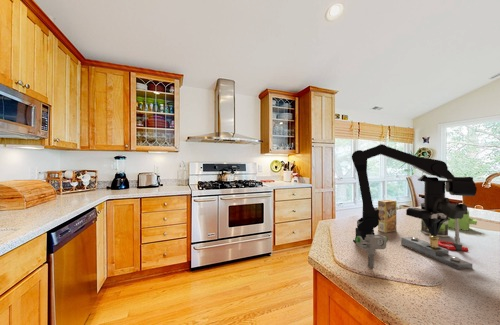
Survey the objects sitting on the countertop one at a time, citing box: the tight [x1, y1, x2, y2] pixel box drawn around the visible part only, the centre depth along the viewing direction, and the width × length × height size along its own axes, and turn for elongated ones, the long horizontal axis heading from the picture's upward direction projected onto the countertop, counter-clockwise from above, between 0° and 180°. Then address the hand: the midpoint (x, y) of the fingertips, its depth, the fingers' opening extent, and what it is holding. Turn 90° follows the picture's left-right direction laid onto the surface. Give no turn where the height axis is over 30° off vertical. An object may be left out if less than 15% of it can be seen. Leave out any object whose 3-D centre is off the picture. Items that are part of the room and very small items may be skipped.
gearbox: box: [448, 210, 478, 231], centre depth 113 cm, size 18×10×10 cm, turn 40°
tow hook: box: [438, 219, 469, 252], centre depth 85 cm, size 8×13×9 cm
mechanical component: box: [354, 234, 389, 269], centre depth 67 cm, size 3×10×10 cm, turn 95°
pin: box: [428, 235, 440, 250], centre depth 76 cm, size 3×3×7 cm
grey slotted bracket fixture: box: [400, 236, 473, 270], centre depth 76 cm, size 6×21×4 cm, turn 9°
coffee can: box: [420, 202, 449, 238], centre depth 102 cm, size 10×10×14 cm
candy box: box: [377, 199, 397, 234], centre depth 104 cm, size 9×4×15 cm, turn 114°
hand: (433, 235), depth 76 cm, fingers closed
